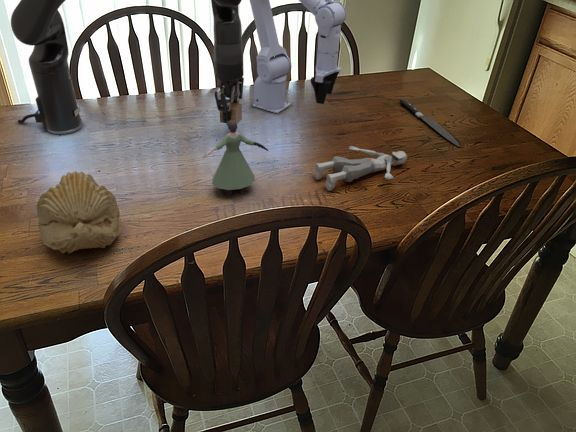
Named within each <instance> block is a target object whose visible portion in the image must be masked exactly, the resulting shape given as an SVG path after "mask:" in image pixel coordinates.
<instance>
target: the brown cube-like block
mask: <svg viewBox="0 0 576 432" xmlns="http://www.w3.org/2000/svg"><path fill="white" fill-rule="evenodd" d="M227 107H228V103H227ZM218 111H219V110H218ZM231 120H234V121H235V122H236V124H237V125H238V124H239V123H240V122H241V121H242V120H243V104H242V103H240V102H239V103H235V102H232V103H231ZM219 123H222V124H225V125H226V124H227V123H224V122H223V113H222V111H219Z"/></svg>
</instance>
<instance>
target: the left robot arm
mask: <svg viewBox="0 0 576 432" xmlns="http://www.w3.org/2000/svg"><path fill="white" fill-rule="evenodd" d="M65 1H66V0H20V1H19V3H17V5H16V6H15V8H14V10H13V11H12V13H11V16H10V27H11V31H12V34H13V36H14V37H15V38H16V39H17V41H19V42H20V43H21V44H24V45H27V46H33V49H32V52H31V54H30V55H29V57H28V65H29V68H30V72H31V76H32V80H33V83H34V86H35V91H36V94H37V96H36V97H35V104H36V106H37V110H36V112H34V113H31V114H27V115H24V116H23V117H22V118H21V119H18V120H17V123H19V124H22V123H25V122H26V120H27V119H30V118H34V121H35V123H36V124H41V125H42V128H43V131H44V132H48V133H49V134H53V135H67V134H72V133H74V132H77V131H79V130H80V129H81V128H82V126H83V121H82V119H81V118H82V117H81V115H80V113H81V111H82V110H81V106H80V105H78V101H77V97H76V92H75V88H74V84H73V83H74V82H73V80H72V76H71V75H72V74H71V70H70V67H69V61H68V59H69V45H68V39H67V34H66V28H65V23H64V20H63V18H62V15H61V13H60V11H59V8H60V7H61V6H62V5H63V3H65ZM210 2H211V11H212V17H213V41H214V42H213V66H214V76H215V78H216V79H218V80H219V81H220V82H219V90H218V91H215V92H214V99H215V104H216V107H217V111H222V113H223V122H224V123H223V124H226V123H227V122H228V121H230V120H231V103H232V102H235V103H240V100H242V99H243V92H244V82H245V81H244V80H245V78H244V47H243V28H242V21H241V18H240V11H239V7H240V6H239V5H240V4H241V2H242V0H210ZM227 103H228V107H227Z"/></svg>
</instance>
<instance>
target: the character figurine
mask: <svg viewBox="0 0 576 432" xmlns="http://www.w3.org/2000/svg"><path fill="white" fill-rule="evenodd" d="M225 125H226V126H227V129H228V131H229V132H228V133H226V134H224V135H223V136H222V138H221V140H220V141H219V143H218V144H216V145H215V146H214V147H213V148H211V149H208V151H206V153H204V155H203V156H202V158H203V159H206V158H207V157H208V156H210V155H211V154H212V153H213V152H215V151H219V150H222V149H223V147H225V148H226V149H225V151H224V153H223V155H222V157H221V159H220V162H219V163H218V166H217V168H216V169H215V171H214V175H213V176H212V179H211V181H212V182H211V184H212V185H213V186H214V187H216V188H217V189H221V190H224V192H225V193H226V195H228V196H231V195H232V193H233V192H232V191H233V190H238V192H240V193H244V192H245V188H247V187H250V186H251V185H252V184H253V183H254V182H255V181H256V177H255V174H254V172H253V170H252V169H251V167H250V165H249V163H248V162H247V160H246V158H245V156H244V155H243V152H242V151H241V149H240V145H241V142H242V143H245V145H248V146H257V147H258V148H261V149H263V150H265V151H267V152H270V151H269V149H268V148H267V147H265V146H264V145H263V144H261V143H259V142H256V141H253V140H252V139H249V138H247V137H246V136H245V135H243V133H241V132H238V131H237V130H238V124H236V122H235V121H234V120H230V121H228V122H227V124H226V123H225Z"/></svg>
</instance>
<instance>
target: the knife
mask: <svg viewBox="0 0 576 432" xmlns="http://www.w3.org/2000/svg"><path fill="white" fill-rule="evenodd" d="M398 101H399V103H400V104H402V105H403V106H404V107H405V108H406V109H407V110H409V111H410V112H411V113H412V114H413V115H414V116H416V118H418V119H421V120H422V121H423V122H425V123H426V124H427V125H428V126H429V127H430V128H432V129H433V130H434V131H435V132H436V133H438V134H439V135H441V136H442V137H443V138H445V139H446V140H447V141H449V143H451V144H453V145H455V146H457V147H461V145H460V143H459V142H458V141H457V140H456V138H455V137H454V136H453V135H452V134H450V132H448V130H446V129H445V128H444V127H443V126H441V125H440V124H439V123H438V122H437V121H436V120H435V119H433V118H432V117H430V116H429V117H428V116H425V115H424V114H423V113H422V112H421V111H420V110H419V109H418V108H417V107H415V106H414V105H413V104H412V103H411V101H410V100H408V99H404V98H399V99H398Z"/></svg>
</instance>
